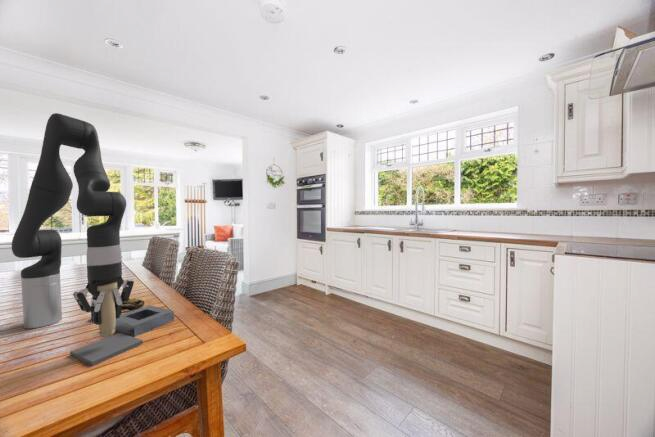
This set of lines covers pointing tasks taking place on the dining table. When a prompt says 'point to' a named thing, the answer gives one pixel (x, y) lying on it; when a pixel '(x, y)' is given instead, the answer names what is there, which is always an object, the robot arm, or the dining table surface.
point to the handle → (107, 310)
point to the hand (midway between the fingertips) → (107, 320)
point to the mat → (105, 348)
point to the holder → (143, 320)
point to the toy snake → (131, 307)
